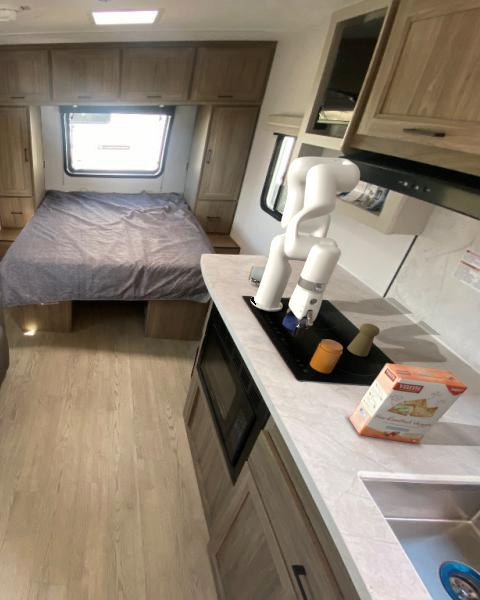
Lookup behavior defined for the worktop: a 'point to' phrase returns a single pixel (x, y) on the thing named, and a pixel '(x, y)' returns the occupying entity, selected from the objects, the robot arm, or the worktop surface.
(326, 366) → the jar
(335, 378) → the worktop surface
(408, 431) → the cracker box
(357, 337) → the cork
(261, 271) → the ceramic mug
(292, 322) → the lid
